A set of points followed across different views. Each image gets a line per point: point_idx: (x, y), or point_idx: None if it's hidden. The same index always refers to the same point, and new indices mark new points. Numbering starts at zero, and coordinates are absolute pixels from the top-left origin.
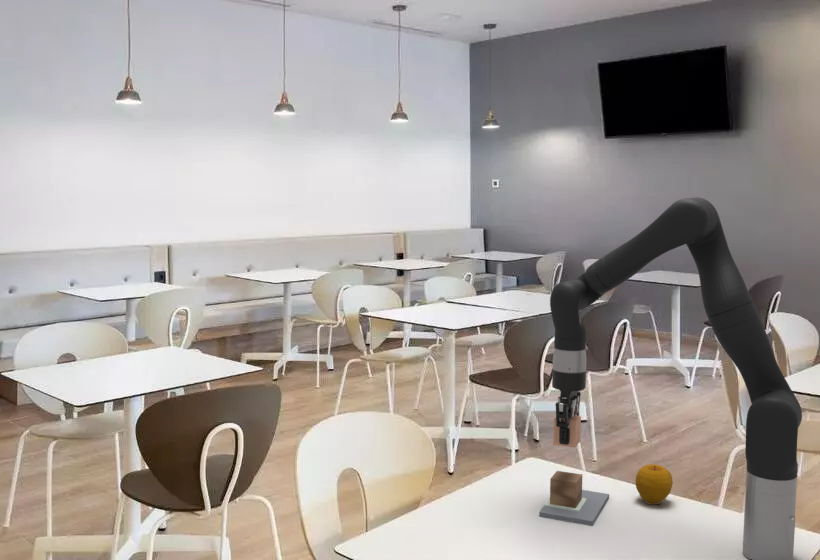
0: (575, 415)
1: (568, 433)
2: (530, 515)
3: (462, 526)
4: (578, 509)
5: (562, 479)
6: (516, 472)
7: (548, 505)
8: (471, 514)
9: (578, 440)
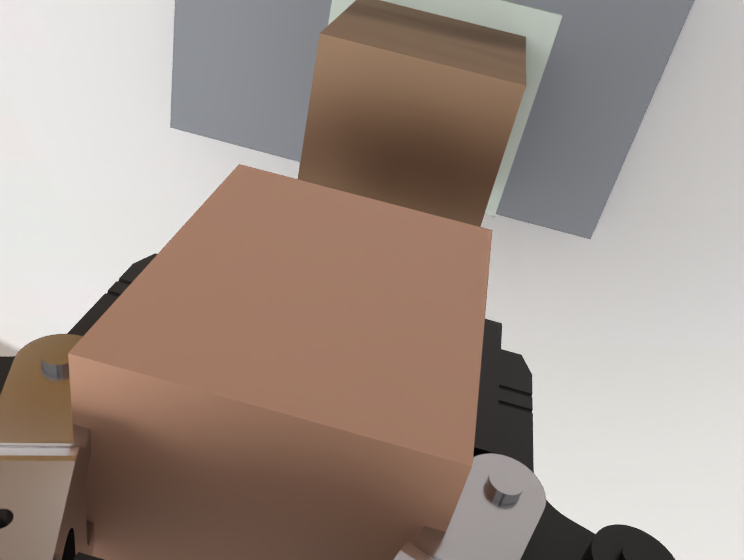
0: (87, 433)
1: (499, 411)
2: (577, 267)
3: (729, 514)
4: (544, 18)
5: (469, 186)
6: (32, 315)
7: (500, 194)
8: (591, 483)
9: (322, 205)
